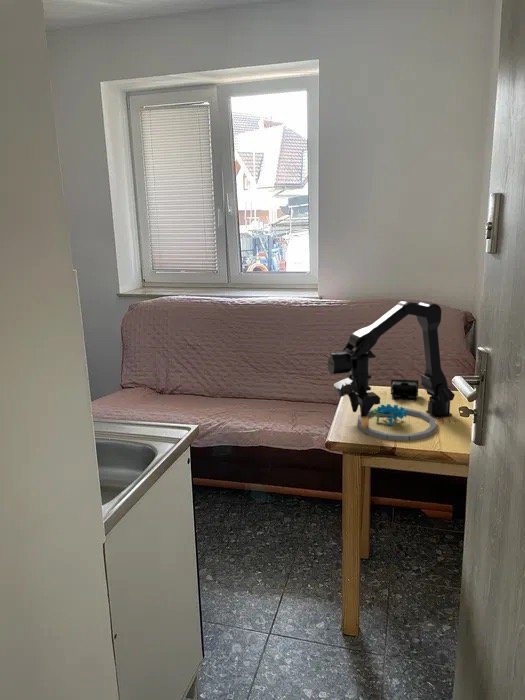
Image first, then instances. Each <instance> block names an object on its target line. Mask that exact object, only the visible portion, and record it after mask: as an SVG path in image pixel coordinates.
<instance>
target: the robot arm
mask: <svg viewBox="0 0 525 700" xmlns="http://www.w3.org/2000/svg"><path fill="white" fill-rule="evenodd" d="M442 312H443V311H442V308H441V306H440V305H438V304H436V303H433V302H430V301H426V300H423V301H420V302H419V303H417V302H413V301H412V302H410V301H405V300H401V301H399V302H397V304H396V305H395V306H394V307H393V308H391V309H390V310H388V311H387V312H385V314H383V315H382V316H381V317H380V318H378V319H377V320H376V321H374V322H373V323H371V324H370V325H368V326H366V327H363V328H360V329H357V330H356V331H354V332H352V333H351V334H350V335H349V338H348V339H349V340H348V342H347V343H346V345H345V346H344V347H343V348H342V352H330V354H329V358H328V361H327V370H328V372H329V374H330V375H340V374H347V377H346V378H344V379H340V380H339V381H337V382H335V383H333V387H334V391H335V393H336V394H337V395H338V396H339V397H344V396H348V399H349V402H350V406H351V410H352V412H353V413H356V412H357V411H358V408H359V411H360V414H361V417H363V416H367V415H368V413H369V411H370V410H371V409H373V407H374V406H375V405H380V404H381V397H380V396H379V395H378V394H377V393H375V392H374V391H372V389H371V388H372V387H371V386H370V385H369V384H370V383H369V381H370V380H369V379H372V375H371V374H370V359H374V358H376V357H377V355H375V354H374V353H373V352H372V349H373V347H375V345H376V344H377V342H378V340H379V339H380V338H381V336H383V335H384V334H385V333H386V332H388V331H389V330H390V329H392V328H393V327H394V326H396V325H397V324H398V323H400V322H401V321H402V320H404V318H406V317H407V316H409V315H411V316H416V319H417V322H418V323H419V324H418V325H420V328H421V330H422V339H423V348H424V357H425V358H424V359H425V371H424V373H421V374H420V379H421V380H420V381H421V383H420V385H421V386H422V387H423V389H424V390H425V391H426V393H427V395H429V396H428V397H429V399H428V403H427V410H425V413H426V414H428V415H429V416H431V417H433V418H434V419H439V418H440V419H441V418H447V417H452V416H453V414H452V413H451V410H450V409H451V401H453V400H454V398H455V393H454V392H453V391H452V390H451V389H450V388H449V385H448V381H447V377H446V376H445V374H444V371H443V369H442V363H441V353H440V350H441V349H440V341H439V332H438V331H439V330H438V329H439V326H440V324H441V321H442V314H443V313H442ZM353 349H354V350H353ZM369 391H370V392H369Z"/></svg>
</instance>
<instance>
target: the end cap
mask: <svg viewBox="0 0 525 700" xmlns="http://www.w3.org/2000/svg"><path fill="white" fill-rule="evenodd" d="M390 395H391V400H393V399H394V400H393V401H395V400H397V401H410V400H414V402H416V400H417V397H418V396H419V380H418V379H398V378H397V379H396V378H391V380H390ZM417 401H418V400H417Z"/></svg>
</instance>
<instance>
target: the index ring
mask: <svg viewBox="0 0 525 700" xmlns="http://www.w3.org/2000/svg"><path fill="white" fill-rule="evenodd" d="M377 408H378V407H377ZM377 408H371V409H370V411H369V413H368V415H367V416H363V417H361V413H360V414H358V415H357V428H358V429H359V430H360V431H362V432H364V433H365V434H366V435H368V436H371V437H375V438H379V439H383V440H388V441H402V440H405V442H407V441H408V442H409V441H410V442H411V441H416V440H421V439H426V438H429V437H430V436H432V435H433V434H434V433H436V432H437V428H438V426H437V422H436V418H435V417H433V416H432V415H430V414H428V413H426V412H423V411H420V410H417V409H416V410H415V409H411V408H407V407H403V408H404V410H407V415H408V414H409V416H413V417H417V418H420V419H422V420H424V421H426V422H427V423H429V427H428V428H426V429H425V430H424V431H417V432H412V433H388V432H384V431H380V430H376V429H373V428H371V427H369V425H370V421H369V420H370V416H374V415H375V416H376V414H374V409H376V410H377ZM398 409H400V407H398Z"/></svg>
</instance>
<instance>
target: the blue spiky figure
mask: <svg viewBox="0 0 525 700" xmlns="http://www.w3.org/2000/svg"><path fill="white" fill-rule="evenodd" d="M398 408H400V409H398ZM404 408H405V407H403V406H401V407H399V405H397V404H393V406H392V405H391V404H390V403H388V404H386V405H384V404H381V405H380V406H377V410H376V408H373V409H374V414H375V417H376V421H375V422H376V424H379V422H380V418H383V419H384V418H385V419H389V421H388V426H389V427H392V426H393V421H394V420H397V419H398V418H399V419H400V420H401V419H403V418H405V417H407V416H408V414H407V410H404Z"/></svg>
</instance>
